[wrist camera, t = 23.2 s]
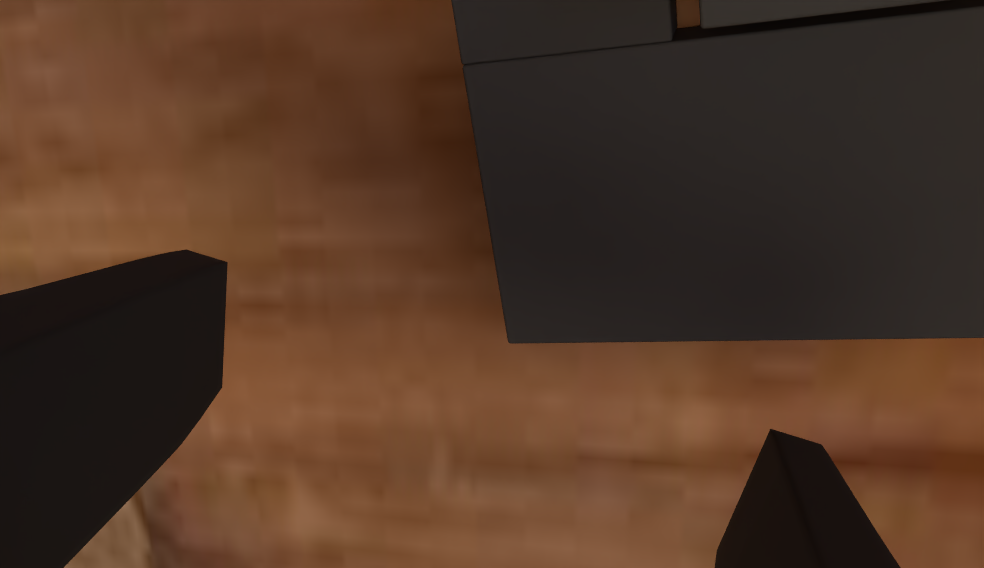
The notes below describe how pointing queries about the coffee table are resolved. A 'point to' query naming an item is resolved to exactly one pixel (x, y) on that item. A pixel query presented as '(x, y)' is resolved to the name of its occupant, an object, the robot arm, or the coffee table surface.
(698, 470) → the coffee table surface
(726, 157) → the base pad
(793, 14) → the black cube
